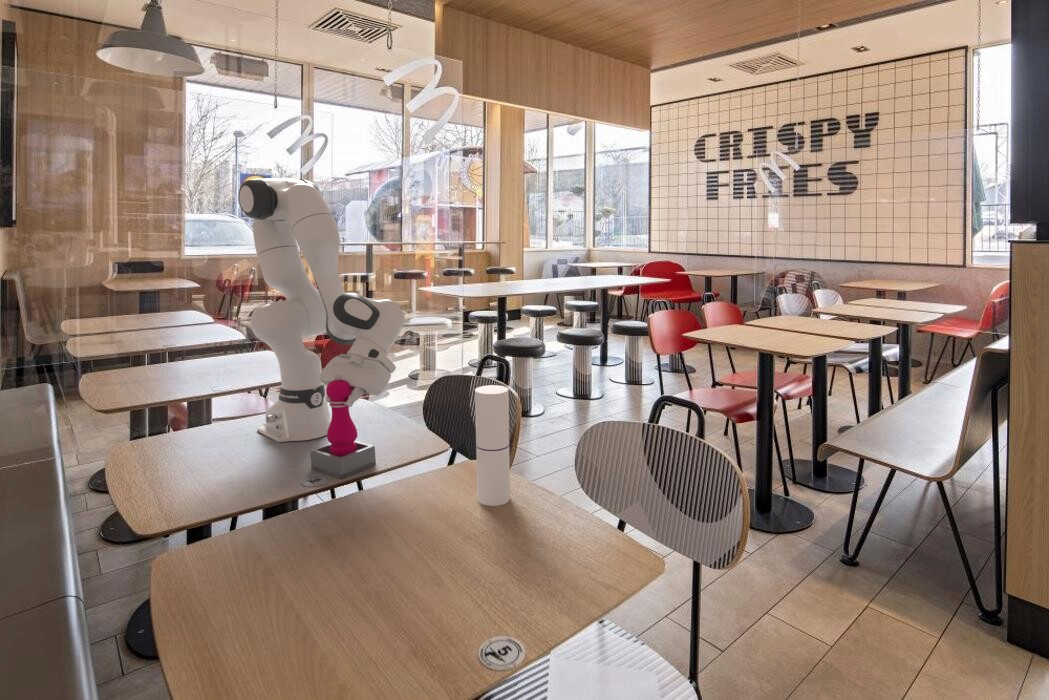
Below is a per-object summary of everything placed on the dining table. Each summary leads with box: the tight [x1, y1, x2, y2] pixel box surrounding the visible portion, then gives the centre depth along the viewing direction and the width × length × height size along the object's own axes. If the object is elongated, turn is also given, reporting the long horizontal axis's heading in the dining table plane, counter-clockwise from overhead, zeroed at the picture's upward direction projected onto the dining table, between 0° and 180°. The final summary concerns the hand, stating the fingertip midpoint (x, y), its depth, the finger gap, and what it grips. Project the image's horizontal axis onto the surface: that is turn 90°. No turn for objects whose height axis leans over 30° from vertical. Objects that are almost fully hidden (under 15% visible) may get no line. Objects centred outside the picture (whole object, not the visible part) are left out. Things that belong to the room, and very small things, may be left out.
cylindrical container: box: [474, 384, 511, 507], centre depth 138 cm, size 7×7×25 cm
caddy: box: [309, 440, 377, 480], centre depth 159 cm, size 11×11×5 cm
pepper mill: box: [325, 374, 358, 456], centre depth 156 cm, size 7×7×20 cm
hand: (337, 403), depth 155 cm, fingers closed on pepper mill, 5 cm apart
